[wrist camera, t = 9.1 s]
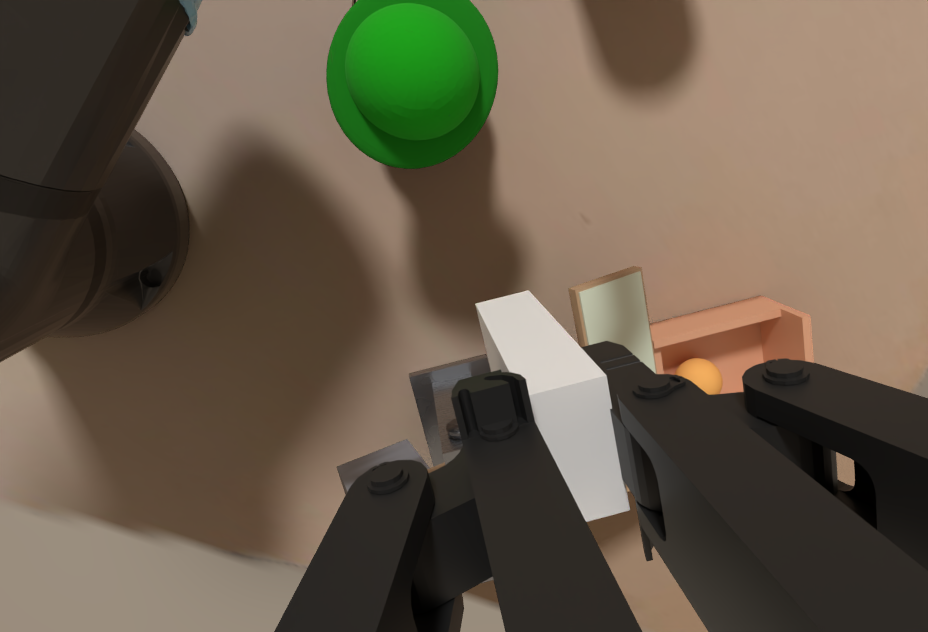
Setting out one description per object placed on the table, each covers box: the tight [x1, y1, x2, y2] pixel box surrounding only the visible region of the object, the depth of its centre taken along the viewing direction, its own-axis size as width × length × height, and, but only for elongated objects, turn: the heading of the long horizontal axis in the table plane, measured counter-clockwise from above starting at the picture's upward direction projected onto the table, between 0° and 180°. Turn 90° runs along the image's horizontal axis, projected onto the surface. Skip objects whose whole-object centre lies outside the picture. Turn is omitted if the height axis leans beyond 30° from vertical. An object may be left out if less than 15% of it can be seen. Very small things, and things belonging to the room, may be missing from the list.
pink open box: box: [650, 296, 814, 394], centre depth 47 cm, size 10×9×6 cm
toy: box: [327, 0, 498, 169], centre depth 35 cm, size 9×9×15 cm
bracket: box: [409, 354, 494, 583], centre depth 43 cm, size 6×11×12 cm, turn 13°
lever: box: [337, 266, 657, 494], centre depth 41 cm, size 22×14×8 cm, turn 104°
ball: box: [674, 358, 723, 395], centre depth 47 cm, size 4×4×4 cm
